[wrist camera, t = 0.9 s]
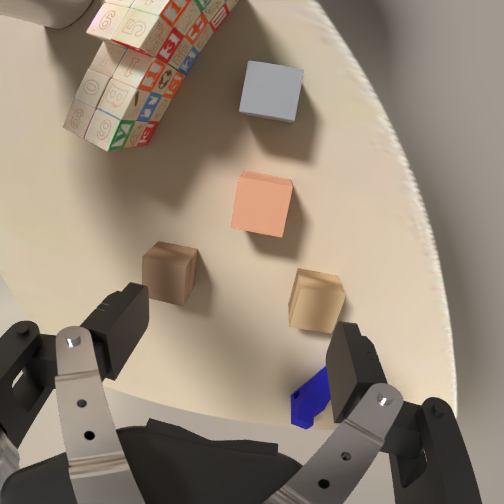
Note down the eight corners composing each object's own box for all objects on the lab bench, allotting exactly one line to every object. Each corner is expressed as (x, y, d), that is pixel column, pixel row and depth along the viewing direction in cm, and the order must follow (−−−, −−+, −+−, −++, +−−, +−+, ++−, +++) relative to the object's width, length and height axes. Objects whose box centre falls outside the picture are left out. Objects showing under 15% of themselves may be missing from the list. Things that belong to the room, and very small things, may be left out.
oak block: (288, 303, 37) (289, 327, 32) (297, 268, 35) (300, 288, 31) (326, 309, 37) (331, 333, 32) (337, 275, 35) (345, 296, 30)
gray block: (244, 114, 29) (238, 111, 25) (252, 71, 27) (248, 60, 23) (291, 123, 29) (294, 120, 24) (299, 79, 27) (304, 69, 23)
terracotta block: (237, 214, 33) (230, 227, 29) (244, 170, 31) (238, 176, 27) (281, 222, 33) (282, 237, 29) (290, 179, 31) (292, 186, 27)
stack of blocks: (148, 147, 31) (87, 157, 20) (108, 125, 30) (40, 129, 19) (245, -7, 24) (228, -65, 12) (199, -22, 23) (166, -76, 11)
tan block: (157, 277, 37) (142, 296, 33) (158, 241, 35) (142, 257, 31) (194, 285, 37) (183, 306, 33) (197, 248, 35) (186, 266, 31)
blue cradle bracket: (312, 404, 44) (313, 432, 39) (290, 394, 44) (291, 423, 38) (364, 360, 40) (373, 389, 34) (343, 348, 39) (350, 378, 34)
